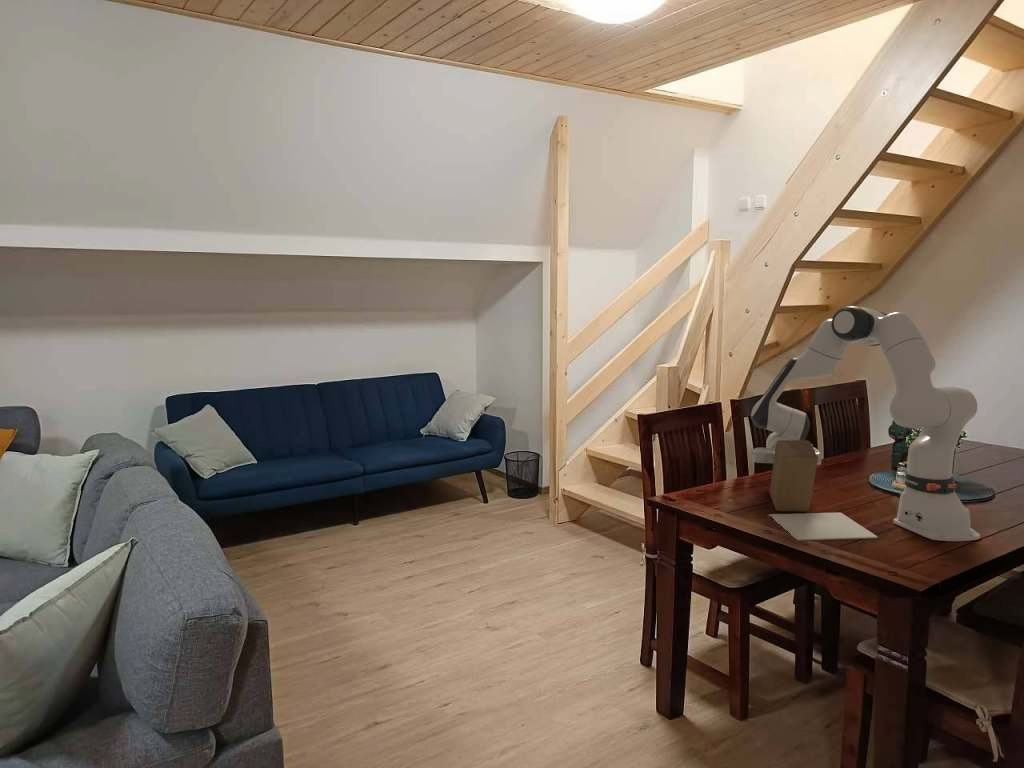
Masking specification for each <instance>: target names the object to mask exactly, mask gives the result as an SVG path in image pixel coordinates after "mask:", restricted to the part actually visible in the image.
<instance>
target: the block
mask: <svg viewBox="0 0 1024 768" xmlns="http://www.w3.org/2000/svg"><path fill="white" fill-rule="evenodd" d="M811 444H812V443H811V441H809V440H806V439H805V440H778V441H777V443H776V448H775V456H774V463H772V472H771V479H770V485H769V495H770V498H771V501H772V503H773V505H774V508H775V511H777V512H787V513H790V512H795V513H796V512H797V513H804V512H805V513H808V512H809V510H810V508H811V501H812V495H813V489H814V486H815V485H814V483H815V477H816V473H817V467H818V465H817V462H818V457H817V455H816V453H815V451H814V449H813V447H812V445H813V444H812V445H811Z"/></svg>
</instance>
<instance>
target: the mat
mask: <svg viewBox="0 0 1024 768" xmlns="http://www.w3.org/2000/svg"><path fill="white" fill-rule="evenodd" d="M768 515H769V516H773V517H772V518H773V519H774V520H775V521H776V522H777V523H778V524H780V525H781V526H782V527H783V528H784V529H785V531H786V530H787V531H788V532H789V533H790V534H791V536H792V538H794V539H795V540H796V539H797V540H796V541H820V540H821V541H822V540H823V541H824V540H825V541H826V540H857V539H858V540H860V539H862V540H863V539H878V537H879V536H877V535H876V534H874V533H873V532H871V531H870V530H868V529H867V528H865V527H863V526H862V525H860V524H859V523H857V522H856V521H855V520H853V519H852V518H850V517H848V516H847V515H845V514H844V513H842V512H810V513H809V512H805V513H804V512H801V513H771V514H767V516H768ZM769 516H768V517H769ZM774 520H773V521H774ZM775 521H774V522H775ZM776 522H775V523H776ZM777 523H776V524H777ZM780 525H779V526H780ZM781 526H780V527H781ZM782 527H781V528H782ZM783 528H782V529H783ZM784 529H783V530H784ZM787 531H786V532H787ZM788 532H787V533H788ZM789 533H788V534H789ZM790 534H789V535H790Z"/></svg>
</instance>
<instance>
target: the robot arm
mask: <svg viewBox="0 0 1024 768" xmlns="http://www.w3.org/2000/svg"><path fill="white" fill-rule="evenodd" d="M854 344H857V345H858V344H859V345H863V346H872V347H874V346H875V347H877V346H880V347H881V350H882V352H883V354H884V357H885V358H886V360H887V362H888V365H889V367H890V369H891V372H892V375H893V377H894V382H895V394H894V396H893V398H892V399H891V401H890V404H889V414H890V417H891V418H892V421H893V420H894V422H895V423H896V424H898V425H899V426H902V427H907V428H914V429H921V428H922V430H921V432H920V434H919V436H918V437H917V438H916V439H915V440H914V441H913V442H912V443H911V444H910V446H909V451H908V456H907V468H906V469H907V471H906V472H905V473H904V475H905V476H904V486H905V488H904V490H903V491H902V493H901V494H900V495H899V496H900V497H899V502H898V508H897V514H896V517H894V518H893V520H892V523H893V524H895V525H897V526H899V527H902V528H904V529H906V530H908V531H910V532H914V533H916V534H918V535H920V536H922V537H925V538H926V539H930V540H933V541H943V542H969V541H976V540H979V539H981V534H980V533H979V532H977V531H976V530H974V528H972V527H971V511H970V509H969V508H966V507H965V505H964V504H963V503H962V500H960V498H959V497H958V495H957V493H956V489H957V488H958V487H957V486H958V484H957V483H955V480H954V477H953V466H954V465H953V464H954V457H955V455H954V453H955V449H956V446H957V443H958V440H959V438H960V436H961V434H962V432H963V430H964V428H965V427H966V425H967V424H968V423H969V422H970V421H971V420H972V419H973V418H975V416H976V414H977V411H978V402H977V399H976V397H975V395H974V394H973V392H971V391H969V390H968V389H966V388H960V387H955V386H942V387H935V386H933V384H932V379H931V378H932V377H931V374H932V372H933V371H934V370H935V367H936V360H935V358H934V356H933V354H932V352H931V350H930V348H929V346H928V344H927V342H926V340H925V338H924V336H923V334H922V333H921V331H920V329H919V328H918V326H917V325H916V323H915V322H914V321H913V319H912V318H911V317H910V316H909V315H908V314H907V313H905V312H901V311H897V312H896V311H895V312H891V313H888V314H887V313H885V312H882V311H878V310H875V309H872V308H869V307H863V306H861V307H860V306H857V305H849V306H844V307H841V308H840V309H838V310H837V311H836V312H835V313H834V315H833V316H832V318H827V319H825V320H824V321H822V322H821V323H820V325H819V327H818V328H817V329H816V330H815V332H814V334H813V335H812V338H811V339H810V342H809V343H808V346H807V347H806V348H805V350H804V351H803V352H802V353H800V355H799V356H797V357H792V358H790V359H789V360H788V361H787V362H786V363H785V364H784V366H783V367H782V369H781V370H780V371H779V373H778V374H777V375H776V377H774V380H773V381H772V383H771V384H770V385H769V387H768V389H767V390H766V391H765V392H764V394H763V395H762V396H761V397H760V399H759V400H758V401H757V402H756V403H755V404H754V406H753V408H752V410H751V414H750V419H751V421H752V423H753V424H754V425H755V427H756V428H758V429H763V430H767V431H770V432H772V433H770V434H769V435H768V437H767V438H766V442H765V443H766V444H765V445H766V447H755V448H754V449H753V450H751V451H750V454H751V456H753V457H752V461H753V463H757V464H773V463H774V456H775V448H776V443H777V441H778V440H806V438H807V436H808V434H809V431H810V428H811V427H810V426H811V424H810V423H811V422H810V419H809V417H808V414H807V413H806V412H804V411H801V410H799V409H796V408H793V407H790V406H788V405H784V404H782V403H780V402H777V401H778V398H779V397H780V396H781V394H782V393H783V391H784V390H785V389H786V387H787V386H788V385H789V384H790V383H791V382H793V381H795V380H800V379H801V380H803V379H804V380H805V379H806V380H807V379H809V380H811V379H812V380H813V379H814V380H816V379H817V380H818V379H824V378H827V377H830V376H832V375H833V374H835V372H836V371H837V370H838V368H839V366H840V364H841V362H842V360H843V358H844V357H845V353H846V352H847V350H848V349H849V348H850V346H851V345H854ZM914 429H913V430H914ZM811 445H812V447H813V444H812V443H811ZM813 449H814V451H815V453H816V455H817V457H818V462H817V466H821V465H822V453H821V452H820V450H819V449H817V448H816V447H813Z"/></svg>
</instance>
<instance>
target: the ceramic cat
mask: <svg viewBox="0 0 1024 768" xmlns="http://www.w3.org/2000/svg"><path fill="white" fill-rule="evenodd" d="M912 429H913V428H907V427H902V426H899V425H898V424H896V423H895V422H894V420H893V419H892V422H891V424H890V426H889V427H888V431H887V433H888V436H889V438H890V439H893V440H894V442H893V444H892V453H891V454H890V455H891V467H890V468H891V469H896V468H897V465H898V463H899V462H904V461H905V462H906V459H908V447H907V444H906V442H905V441H906V436H907V435H909V434H912V433H913V431H912ZM913 430H914V429H913Z"/></svg>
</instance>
